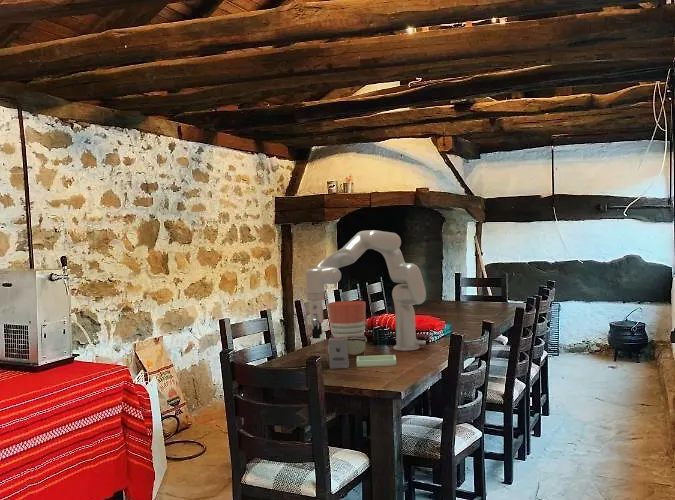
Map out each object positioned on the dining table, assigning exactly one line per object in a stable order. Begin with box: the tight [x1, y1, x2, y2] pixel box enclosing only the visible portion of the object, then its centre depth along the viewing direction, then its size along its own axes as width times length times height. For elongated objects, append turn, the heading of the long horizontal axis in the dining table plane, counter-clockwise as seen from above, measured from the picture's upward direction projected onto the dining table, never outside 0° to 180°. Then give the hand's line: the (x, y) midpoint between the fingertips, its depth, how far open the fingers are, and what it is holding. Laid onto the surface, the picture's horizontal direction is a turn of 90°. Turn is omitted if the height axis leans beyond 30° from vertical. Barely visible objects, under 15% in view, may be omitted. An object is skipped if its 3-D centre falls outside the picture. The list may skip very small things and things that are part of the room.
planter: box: [328, 300, 367, 337], centre depth 321 cm, size 20×20×21 cm
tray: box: [355, 354, 397, 368], centre depth 266 cm, size 17×11×2 cm, turn 87°
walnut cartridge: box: [325, 344, 329, 363], centre depth 276 cm, size 5×5×7 cm
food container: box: [345, 335, 368, 361], centre depth 281 cm, size 12×6×10 cm, turn 71°
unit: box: [327, 336, 350, 370], centre depth 264 cm, size 8×9×12 cm
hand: (317, 336), depth 264 cm, fingers open, 9 cm apart
